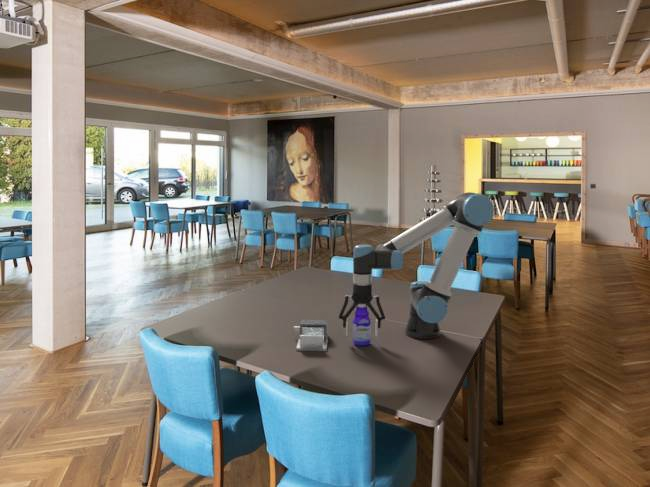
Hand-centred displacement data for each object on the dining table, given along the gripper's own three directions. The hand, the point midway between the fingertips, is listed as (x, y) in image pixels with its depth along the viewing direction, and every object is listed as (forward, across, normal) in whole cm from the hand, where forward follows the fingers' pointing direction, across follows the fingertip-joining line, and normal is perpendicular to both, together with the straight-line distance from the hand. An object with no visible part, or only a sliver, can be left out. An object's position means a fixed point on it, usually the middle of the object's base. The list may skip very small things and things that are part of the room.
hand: (361, 335), depth 198 cm
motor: (+4, +21, -6) cm, 22 cm away
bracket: (+4, +20, +3) cm, 21 cm away
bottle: (+4, 0, 0) cm, 4 cm away
